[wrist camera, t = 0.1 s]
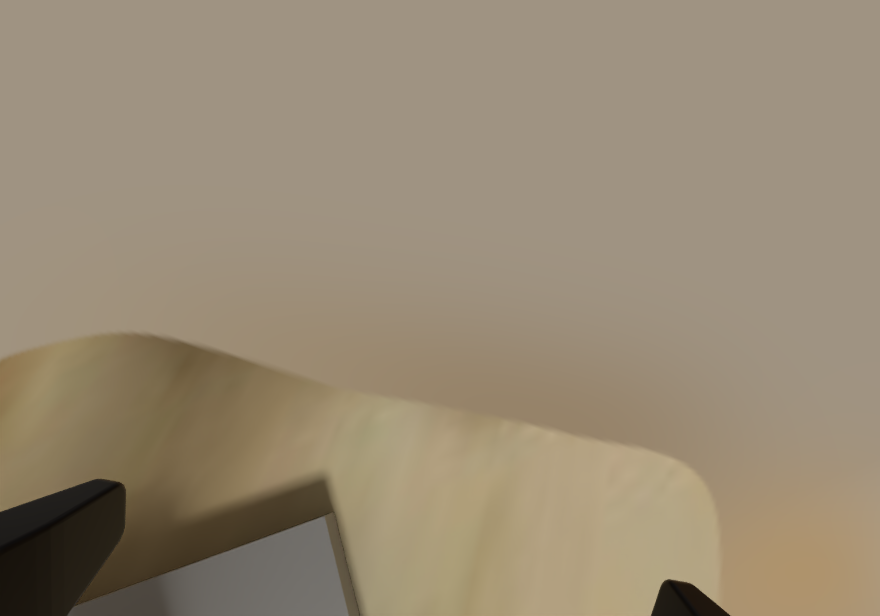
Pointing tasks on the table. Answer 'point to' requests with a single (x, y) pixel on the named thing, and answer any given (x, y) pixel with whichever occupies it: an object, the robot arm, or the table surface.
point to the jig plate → (247, 581)
